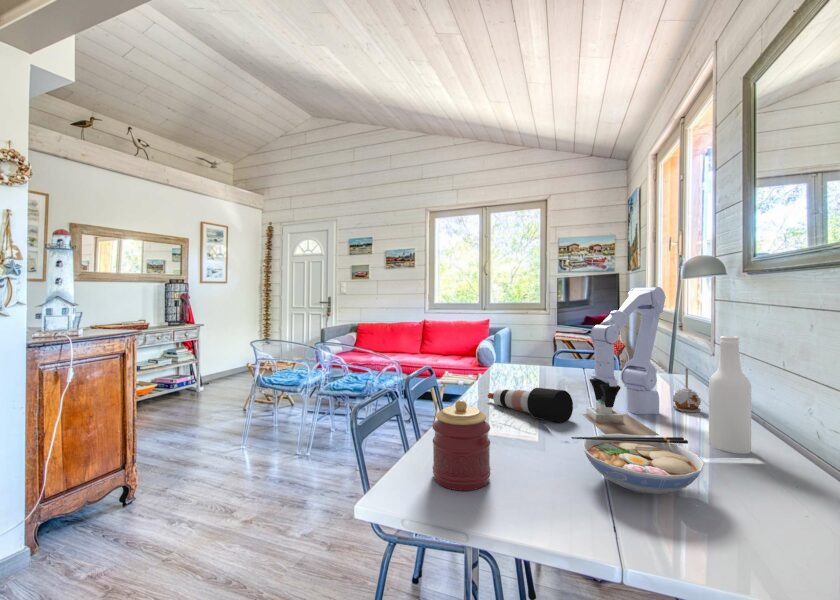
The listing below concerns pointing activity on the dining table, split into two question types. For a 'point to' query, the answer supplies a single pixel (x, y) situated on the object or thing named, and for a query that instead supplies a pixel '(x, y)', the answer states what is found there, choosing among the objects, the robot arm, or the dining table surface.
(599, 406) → the connector plug
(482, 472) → the canister
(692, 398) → the caramel apple
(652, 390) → the robot arm
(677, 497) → the dining table surface
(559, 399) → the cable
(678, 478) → the ramen bowl
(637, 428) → the board
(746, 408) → the alcohol
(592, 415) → the end holder
